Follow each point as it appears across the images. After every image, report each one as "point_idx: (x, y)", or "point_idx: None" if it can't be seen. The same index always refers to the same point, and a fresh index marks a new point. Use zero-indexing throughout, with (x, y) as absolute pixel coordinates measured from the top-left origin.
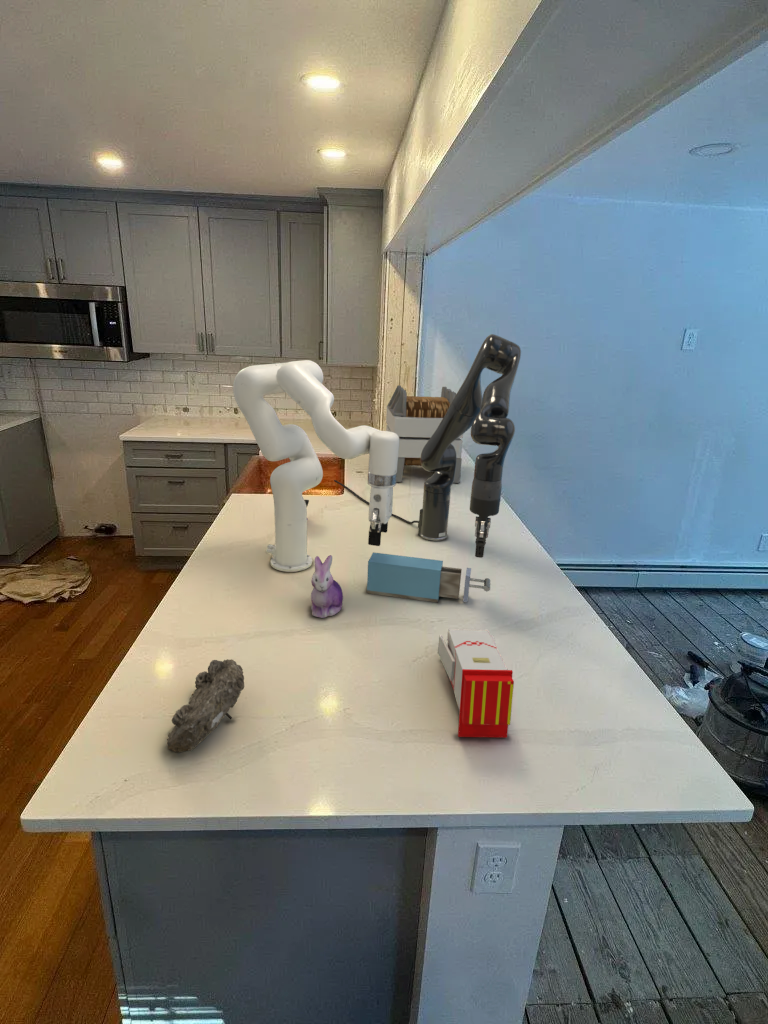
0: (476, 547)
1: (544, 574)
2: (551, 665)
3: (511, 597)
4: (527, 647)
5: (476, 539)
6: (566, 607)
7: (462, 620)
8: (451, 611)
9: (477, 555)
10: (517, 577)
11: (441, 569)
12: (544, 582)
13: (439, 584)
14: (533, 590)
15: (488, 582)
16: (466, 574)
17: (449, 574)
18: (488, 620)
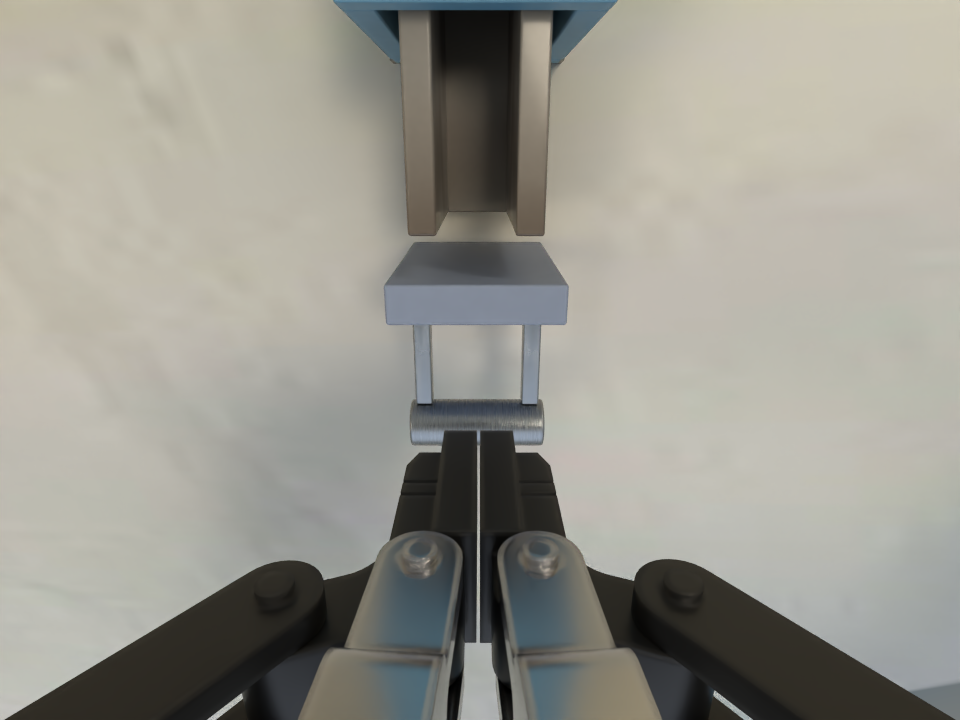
0: (438, 504)
1: (887, 652)
2: (22, 628)
3: (583, 499)
4: (111, 554)
5: (33, 705)
6: None
7: (223, 250)
8: (306, 172)
9: (414, 467)
10: (841, 532)
11: (519, 15)
12: None
13: (370, 37)
14: None
15: None
16: (413, 290)
17: (403, 119)
18: (283, 390)
